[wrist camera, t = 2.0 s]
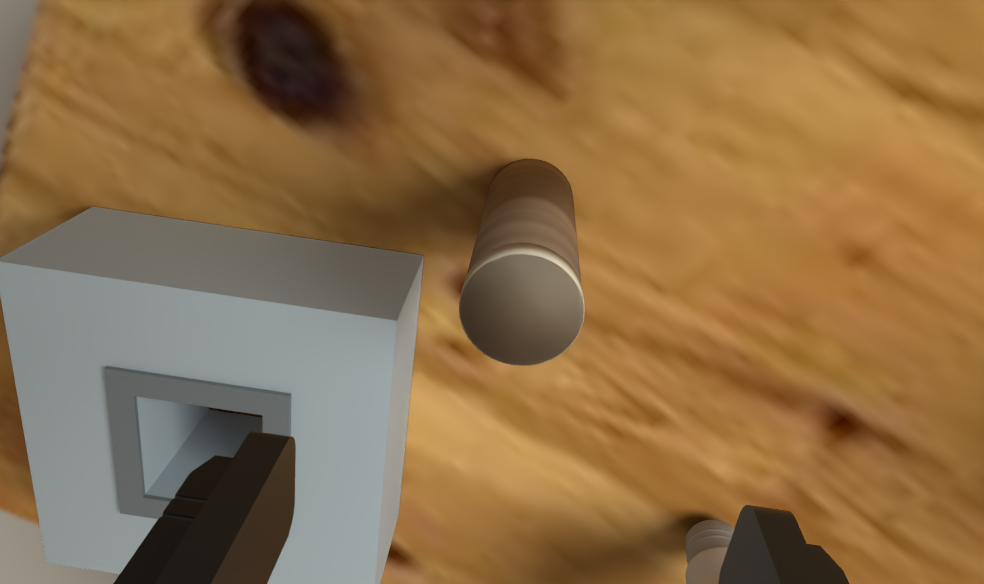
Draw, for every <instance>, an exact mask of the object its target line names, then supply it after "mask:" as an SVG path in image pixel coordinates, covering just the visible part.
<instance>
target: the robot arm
mask: <svg viewBox="0 0 984 584" xmlns="http://www.w3.org/2000/svg"><path fill="white" fill-rule="evenodd" d="M295 459H296V444H295V439H294V437H291V436H284V435H277V434H270V433H264V432H257V431H251V432H250V433H249V434H248V435H247V437H246V438H245V440H244V441H243V443H242V445H241V446H240V448H239V449H238V451H237V453H236V454H235V456H234V457H233V458H231V457H224V456H217V455H215V456H213V457H212V458H211V459H209V460H208V461H206V462H205V463H203V464H202V465H200V466H199V467H198V468H196V469H195V470H193V471H192V472H190V474H189V475H188V477H187V478H186V480H185V481H184V482H183V484H182V485H181V487H180V488H179V490H178V491H177V493H176V494H175V498H174V499H172V500H171V501H170V503H169V504H168V506H167V507H166V508H165V510H164V511H163V515H162V517H159V519H158V520H157V521H156V523H155V524H154V526H153V527H152V529H151V530H150V532H149V533H148V534H147V536H146V537H145V539H144V540H143V542H142V543H141V545H140V546H139V547H138V549H137V550H136V552H135V553H134V555H133V556H132V558H131V559H130V560H129V562H128V563H127V565H126V566H125V568H124V569H123V571H122V572H121V573H120V575H119V576H118V578H117V579H116V581H115V582H114V584H267V583H268V581H269V578H270V576H271V574H272V572H273V569H274V567H275V565H276V563H277V560H278V558H279V556H280V554H281V552H282V549H283V547H284V545H285V543H286V540H287V538H288V535H289V532H290V528H291V524H292V520H293V515H294V507H295ZM718 584H849V582H848V580H847V578H846V576H845V574H844V572H843V570H842V569H841V568H840V567H839V566H838V565H837V564H836V563H835V561H834V560H833V559H832V558H831V557H830V556H829V555H828V554H827V553H826V552H825V551H824V550H823V549H822V547H821V546H817V545H811V544H806V542H805V539H804V537H803V535H802V532H801V530H800V528H799V526H798V523H797V521H796V519H795V517H794V515H793V514H792V513H791V512H790V511H785V510H778V509H771V508H764V507H757V506H751V505H746V506H744V507H743V509H742V510H741V512H740V515H739V518H738V520H737V523H736V526H735V529H734V532H733V535H732V538H731V541H730V543H729V546H728V549H727V552H726V555H725V558H724V561H723V564H722V566H721V570H720V575H719V583H718Z"/></svg>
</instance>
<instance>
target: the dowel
mask: <svg viewBox="0 0 984 584" xmlns="http://www.w3.org/2000/svg"><path fill="white" fill-rule="evenodd" d="M459 313H460V320H461V324H462V327H463V329H464V331H465V333H466V335H467V337H468V338H469V340H470V341H471V342H472V344H473V345H474V346H475V347H476V348H477V349H478V350H480V351H481V352H482V353H483V354H485V355H487V356H488V357H490V358H492V359H494V360H496V361H499V362H502V363H505V364H510V365H517V366H530V365H537V364H541V363H544V362H547V361H549V360H552V359H554V358H555V357H557V356H559V355H560V354H562V353H563V352H564V351H566V350H567V349H568V348H569V347H570V346H571V344H572V343H573V342H574V341H575V339H576V338H577V336H578V334H579V332H580V330H581V328H582V324H583V320H584V299H583V291H582V286H581V275H580V265H579V255H578V245H577V235H576V224H575V214H574V204H573V195H572V190H571V186H570V184H569V182H568V180H567V178H566V177H565V176H564V174H563V173H562V172H561V171H560V170H559V169H558V168H556V167H555V166H553V165H552V164H550V163H548V162H545V161H542V160H537V159H523V160H519V161H515V162H513V163H511V164H509V165H507V166H506V167H504V168H503V169H502V170H500V171H499V173H498V174H497V175H496V176H495V178H494V179H493V181H492V183H491V185H490V188H489V191H488V195H487V199H486V203H485V207H484V210H483V214H482V218H481V222H480V226H479V230H478V234H477V238H476V242H475V245H474V249H473V253H472V257H471V261H470V265H469V269H468V273H467V276H466V279H465V282H464V285H463V289H462V293H461V297H460V303H459Z"/></svg>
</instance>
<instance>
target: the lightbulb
mask: <svg viewBox="0 0 984 584" xmlns="http://www.w3.org/2000/svg"><path fill="white" fill-rule="evenodd" d="M733 532H734V528H733V527H732V526H731V525H730V524H728V523H726V522H723V521H720V520H705V521H701V522H699V523H697V524H696V525H694V526H693V527H692V528H691V529H690V530H689V531H688V533H687V534H686V537H685V546H686V555H687V562H688V566H687V569H686V583H687V584H718V583H719V575H720V570H721V566H722V564H723V561H724V558H725V555H726V552H727V549H728V546H729V543H730V541H731V538H732V535H733Z"/></svg>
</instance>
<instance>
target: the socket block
mask: <svg viewBox="0 0 984 584" xmlns="http://www.w3.org/2000/svg"><path fill="white" fill-rule="evenodd" d="M423 260H424V255H417V254H410V253H404V252H397V251H390V250H383V249H376V248H370V247H363V246H356V245H349V244H343V243H336V242H329V241H322V240H316V239H309V238H302V237H295V236H289V235H282V234H275V233H268V232H262V231H255V230H248V229H241V228H235V227H228V226H221V225H214V224H208V223H201V222H194V221H187V220H180V219H174V218H167V217H160V216H153V215H147V214H140V213H133V212H126V211H120V210H113V209H106V208H99V207H91V208H89V209H87V210H85V211H84V212H82V213H80V214H78V215H76V216H75V217H73V218H71V219H69V220H67V221H66V222H64V223H62V224H60V225H58V226H57V227H55V228H53V229H51V230H49V231H47V232H46V233H44V234H42V235H40V236H38V237H37V238H35V239H33V240H31V241H29V242H28V243H26V244H24V245H22V246H20V247H18V248H17V249H15V250H13V251H11V252H9V253H8V254H6V255H4V256H2V257H0V297H1V303H2V309H3V315H4V320H5V326H6V332H7V338H8V344H9V349H10V355H11V361H12V367H13V372H14V378H15V384H16V390H17V396H18V401H19V407H20V413H21V419H22V425H23V430H24V436H25V442H26V448H27V454H28V459H29V465H30V471H31V477H32V483H33V488H34V494H35V500H36V506H37V512H38V517H39V523H40V529H41V535H42V541H43V546H44V552H45V558H46V563H51V564H58V565H64V566H71V567H78V568H84V569H91V570H97V571H103V572H110V573H117V574H120V573H121V572H122V571H123V569H124V568H125V566H126V565H127V563H128V562H129V560H130V559H131V558H132V556H133V555H134V553H135V552H136V550H137V549H138V547H139V546H140V545H141V543H142V542H143V540H144V539H145V537H146V536H147V534H148V533H149V532H150V530H151V529H152V527H153V526H154V524H155V523H156V521H157V520H158V519H159V517H162V515H163V511H164V510H165V508H166V507H167V506H168V504H169V503H170V501H171V500H172V499H174V498H175V494H176V493H177V491H178V490H179V488H180V487H181V485H182V484H183V482H184V481H185V480H186V478H187V477H188V475H189V474H190V472H192V471H193V470H195V469H196V468H198V467H199V466H200V465H202V464H203V463H205V462H206V461H208V460H209V459H211V458H212V457H213V456H215V455H217V456H224V457H231V458H233V457H234V456H235V454H236V453H237V451H238V449H239V448H240V446H241V445H242V443H243V441H244V440H245V438H246V437H247V435H248V434H249V433H250V432H251V431H257V432H264V433H270V434H277V435H284V436H291V437H294V439H295V444H296V459H295V507H294V515H293V520H292V524H291V528H290V532H289V535H288V538H287V540H286V543H285V545H284V547H283V549H282V552H281V554H280V556H279V558H278V560H277V563H276V565H275V567H274V569H273V572H272V574H271V576H270V578H269V581H268V583H267V584H380V582H381V578H382V574H383V571H384V567H385V563H386V559H387V556H388V552H389V548H390V544H391V541H392V537H393V533H394V530H395V526H396V522H397V518H398V515H399V505H400V495H401V485H402V474H403V464H404V454H405V444H406V434H407V423H408V413H409V403H410V393H411V383H412V372H413V362H414V352H415V342H416V332H417V321H418V311H419V301H420V291H421V281H422V270H423ZM209 407H210V408H217V409H224V410H230V411H237V412H244V413H250V414H257V415H263V417H256V416H249V415H243V414H236V413H229V412H223V411H216V410H209Z"/></svg>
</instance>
